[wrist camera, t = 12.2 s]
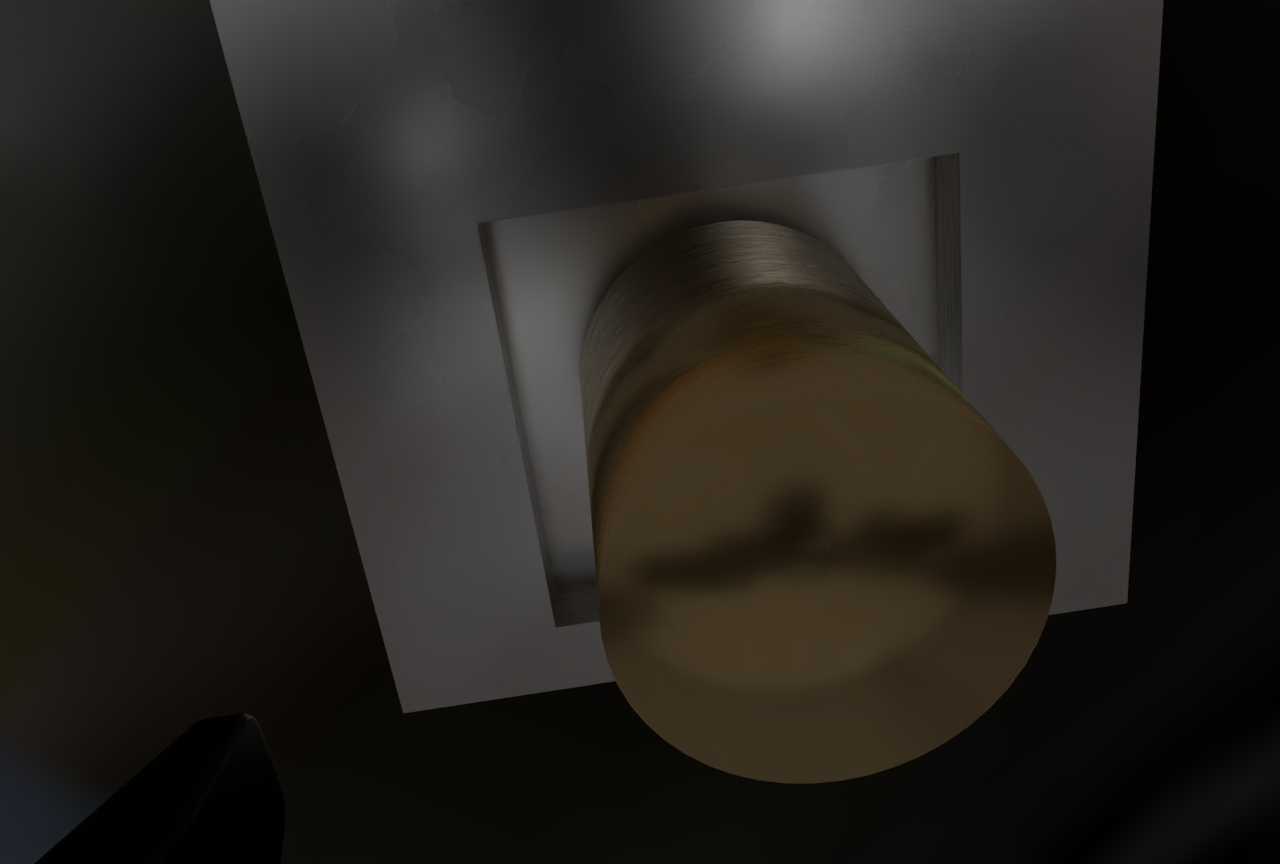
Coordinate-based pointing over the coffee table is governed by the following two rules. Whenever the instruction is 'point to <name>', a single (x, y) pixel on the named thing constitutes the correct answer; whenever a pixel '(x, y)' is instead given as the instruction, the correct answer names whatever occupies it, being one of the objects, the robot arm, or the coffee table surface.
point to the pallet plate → (657, 209)
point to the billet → (797, 514)
